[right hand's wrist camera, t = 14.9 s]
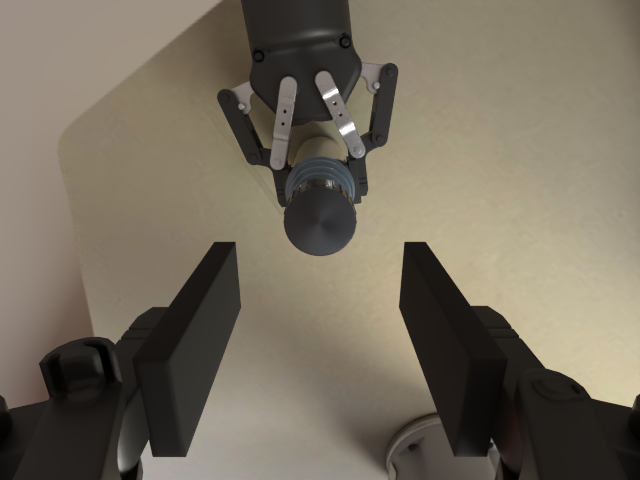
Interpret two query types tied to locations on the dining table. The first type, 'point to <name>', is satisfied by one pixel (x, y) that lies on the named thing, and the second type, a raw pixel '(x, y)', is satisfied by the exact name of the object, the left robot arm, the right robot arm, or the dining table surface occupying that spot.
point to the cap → (320, 217)
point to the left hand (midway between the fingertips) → (324, 204)
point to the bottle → (320, 165)
